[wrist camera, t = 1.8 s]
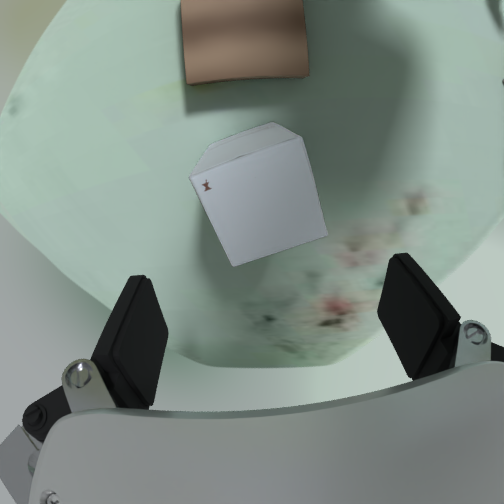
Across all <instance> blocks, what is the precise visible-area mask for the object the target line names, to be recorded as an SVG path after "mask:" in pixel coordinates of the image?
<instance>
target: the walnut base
mask: <svg viewBox="0 0 504 504" xmlns="http://www.w3.org/2000/svg"><path fill="white" fill-rule="evenodd" d="M181 16H182V32H183V47H184V59H185V71H186V82H187V84H188V85H192V86H194V85H201V84H208V83H216V82H225V81H236V80H249V79H270V78H305V77H308V76H310V75H309V61H308V48H307V37H306V26H305V17H304V8H303V0H181Z"/></svg>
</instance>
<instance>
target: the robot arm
mask: <svg viewBox="0 0 504 504" xmlns="http://www.w3.org/2000/svg"><path fill="white" fill-rule="evenodd" d="M377 313H378V317H379V319H380V321H381V323H382V325H383V327H384V329H385V331H386V333H387V334H388V336H389V338H390V340H391V342H392V344H393V346H394V348H395V350H396V352H397V355H398V356H399V359H400V361H401V363H402V365H403V367H404V369H405V371H406V373H407V375H408V377H409V378H412V380H413V381H411V382H408V383H404V384H401V385H397V386H394V387H390V388H386V389H383V390H379V391H374V392H371V393H366V394H362V395H357V396H352V397H347V398H342V399H337V400H332V401H326V402H321V403H313V404H307V405H299V406H291V407H282V408H273V409H262V410H247V411H221V412H189V411H187V412H186V411H159V410H149V406H152V405H153V403H154V399H155V394H156V388H157V384H158V379H159V375H160V370H161V366H162V361H163V357H164V352H165V348H166V344H167V340H168V328H167V325H166V322H165V320H164V317H163V314H162V311H161V309H160V306H159V303H158V300H157V297H156V294H155V291H154V288H153V285H152V282H151V280H150V279H149V278H146V276H145V275H135V276H130V277H129V279H128V281H127V283H126V285H125V287H124V289H123V291H122V293H121V294H120V296H119V298H118V300H117V302H116V304H115V306H114V309H113V311H112V313H111V315H110V317H109V319H108V321H107V323H106V325H105V327H104V330H103V332H102V334H101V336H100V338H99V340H98V343H97V345H96V348H95V350H94V352H93V354H92V357H91V359H90V360H88V359H78V360H76V361H73V362H72V363H71V364H69V365H68V366H67V367H66V369H65V370H64V372H63V374H62V386H60V387H59V388H57V389H55V390H54V391H52V392H50V393H49V394H47V395H45V396H44V397H42V398H40V399H39V400H37V401H35V402H34V403H32V404H31V405H29V406H28V407H27V409H26V410H25V412H24V414H23V419H22V422H23V426H22V427H21V426H20V425H18V426H17V427H16V428H15V429H14V430H13V431H12V432H11V433H10V435H9V436H8V437H7V438H6V439H5V440H4V441H3V442H2V444H1V445H0V478H1V480H2V482H3V483H4V485H5V486H6V488H7V490H8V491H9V493H10V494H11V496H12V497H13V499H14V500H15V502H16V503H17V504H504V347H502V346H499V345H497V344H495V343H492V342H491V336H490V333H489V331H488V329H487V328H486V327H485V326H484V325H483V324H481V323H480V322H478V321H474V320H467V321H465V322H463V323H462V324H460V322H459V320H460V318H461V317H460V315H459V314H458V313H457V311H456V310H455V309H454V308H453V306H452V305H451V303H450V302H449V301H448V300H447V298H446V297H445V296H444V295H443V293H442V292H441V291H440V290H439V288H438V287H437V286H436V285H435V284H434V282H433V281H432V280H431V279H430V278H429V276H428V275H427V274H426V273H425V272H424V271H423V269H422V268H421V267H420V266H419V265H418V264H417V263H416V261H415V260H414V259H413V258H412V257H411V256H410V255H409V254H408V253H399V254H394V255H393V257H392V258H390V260H389V263H388V268H387V273H386V277H385V281H384V286H383V290H382V294H381V298H380V302H379V305H378V310H377Z"/></svg>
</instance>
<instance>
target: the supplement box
mask: <svg viewBox="0 0 504 504" xmlns="http://www.w3.org/2000/svg"><path fill="white" fill-rule="evenodd" d="M189 179H190V181H191V183H192V185H193V187H194V189H195V191H196V193H197V196H198V198H199V200H200V202H201V204H202V206H203V208H204V210H205V212H206V214H207V216H208V218H209V220H210V222H211V224H212V226H213V228H214V230H215V232H216V234H217V236H218V238H219V240H220V242H221V244H222V246H223V249H224V251H225V253H226V255H227V257H228V259H229V261H230V263H231V265H232V266H233V267H235V266H239V265H241V264H244V263H247V262H250V261H253V260H256V259H259V258H262V257H265V256H268V255H271V254H274V253H277V252H280V251H283V250H286V249H289V248H292V247H295V246H298V245H301V244H304V243H307V242H310V241H313V240H316V239H319V238H322V237H326V236H328V233H327V229H326V225H325V221H324V217H323V212H322V208H321V204H320V200H319V196H318V192H317V188H316V184H315V180H314V176H313V172H312V169H311V165H310V161H309V158H308V154H307V151H306V147H305V144H304V140H303V138H302V137H301V136H299V135H297V134H295V133H294V132H292V131H290V130H288V129H286V128H284V127H283V126H281V125H279V124H277V123H275V122H270V123H267V124H264V125H260V126H257V127H254V128H252V129H249V130H246V131H243V132H240V133H238V134H235V135H232V136H230V137H227V138H225V139H222V140H220V141H217V142H215V143H212V144H210V145H209V146H208V148H207V149H206V151H205V152H204V154H203V155H202V157H201V158H200V160H199V161H198V163H197V164H196V166H195V168H194V169H193V171H192V172H191V174H190V175H189Z"/></svg>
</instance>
